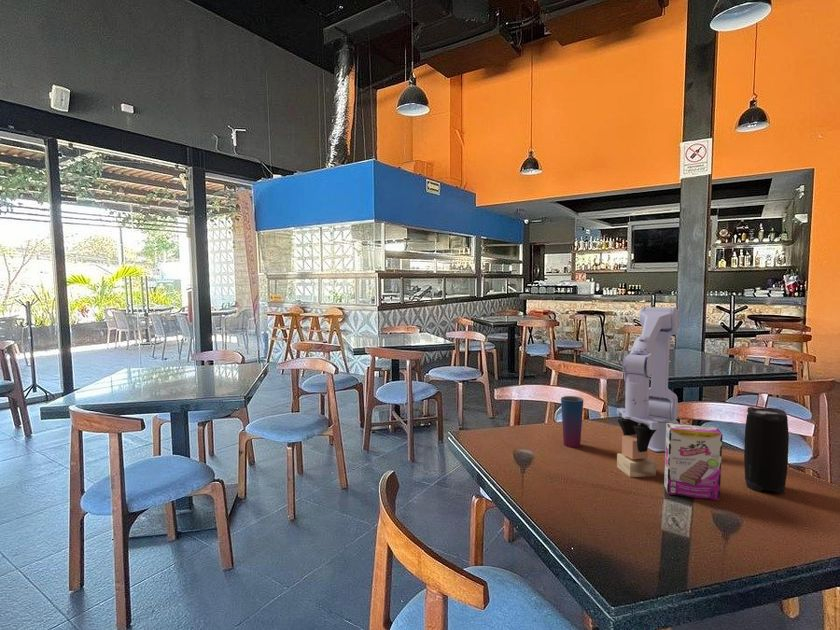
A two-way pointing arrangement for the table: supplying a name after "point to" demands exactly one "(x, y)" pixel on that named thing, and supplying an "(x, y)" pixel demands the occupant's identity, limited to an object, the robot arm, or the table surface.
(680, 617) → the table surface
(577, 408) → the cup
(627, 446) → the terracotta cube
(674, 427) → the candy bar box
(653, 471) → the oak block
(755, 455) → the portable speaker
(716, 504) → the table surface
